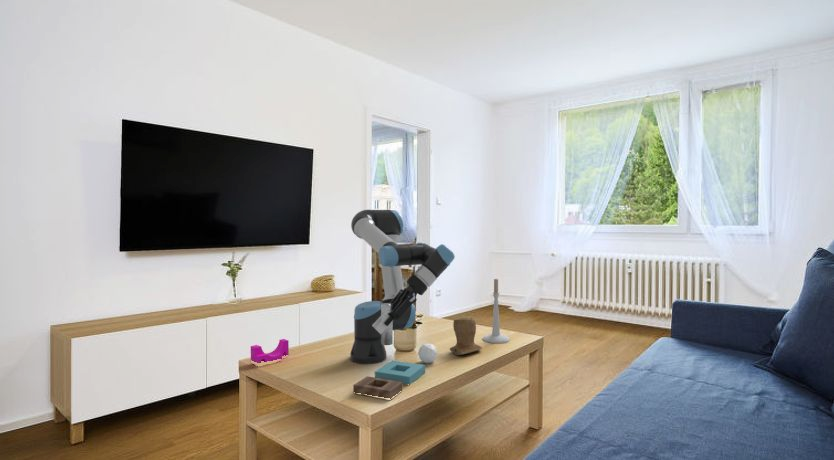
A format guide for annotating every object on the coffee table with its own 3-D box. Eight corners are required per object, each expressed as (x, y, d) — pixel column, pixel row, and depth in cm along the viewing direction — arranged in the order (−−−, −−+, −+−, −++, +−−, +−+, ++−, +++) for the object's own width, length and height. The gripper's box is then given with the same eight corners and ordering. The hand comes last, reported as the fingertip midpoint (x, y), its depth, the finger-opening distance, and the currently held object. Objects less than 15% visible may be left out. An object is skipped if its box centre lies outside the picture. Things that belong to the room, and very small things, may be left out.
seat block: (374, 379, 164) (374, 371, 164) (392, 367, 176) (392, 360, 176) (409, 385, 158) (409, 376, 158) (425, 372, 171) (425, 365, 171)
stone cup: (465, 345, 207) (465, 313, 207) (485, 351, 198) (485, 317, 198) (442, 352, 197) (442, 318, 197) (462, 358, 188) (462, 323, 188)
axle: (379, 344, 158) (379, 304, 157) (384, 341, 161) (384, 302, 161) (389, 345, 156) (389, 305, 155) (394, 342, 159) (394, 303, 159)
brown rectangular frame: (353, 393, 150) (353, 384, 150) (367, 384, 159) (367, 376, 159) (390, 400, 145) (390, 391, 145) (402, 390, 153) (402, 382, 153)
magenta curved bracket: (258, 367, 178) (258, 349, 177) (250, 364, 182) (250, 346, 182) (291, 359, 189) (291, 341, 188) (283, 356, 193) (283, 338, 193)
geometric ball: (430, 367, 185) (440, 350, 187) (430, 366, 178) (440, 349, 180) (415, 357, 187) (425, 340, 189) (413, 355, 179) (424, 338, 181)
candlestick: (478, 341, 215) (478, 278, 215) (488, 335, 226) (488, 275, 225) (503, 344, 208) (503, 280, 208) (513, 338, 219) (513, 277, 219)
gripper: (406, 270, 169) (363, 317, 164) (421, 276, 153) (374, 328, 148) (420, 284, 171) (377, 330, 166) (436, 291, 155) (390, 343, 150)
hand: (376, 329), depth 157 cm, fingers closed on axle, 4 cm apart
